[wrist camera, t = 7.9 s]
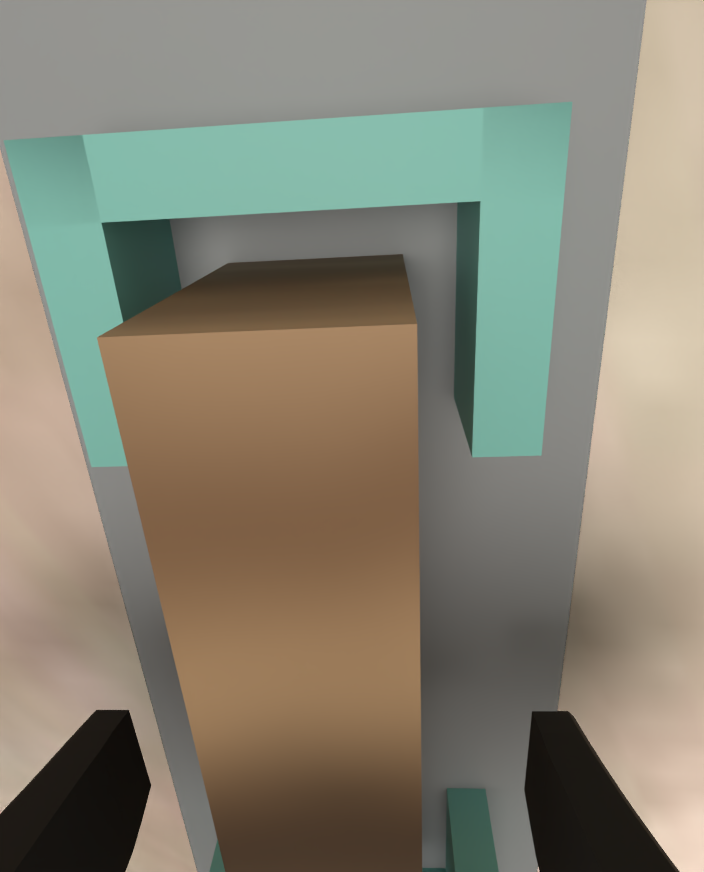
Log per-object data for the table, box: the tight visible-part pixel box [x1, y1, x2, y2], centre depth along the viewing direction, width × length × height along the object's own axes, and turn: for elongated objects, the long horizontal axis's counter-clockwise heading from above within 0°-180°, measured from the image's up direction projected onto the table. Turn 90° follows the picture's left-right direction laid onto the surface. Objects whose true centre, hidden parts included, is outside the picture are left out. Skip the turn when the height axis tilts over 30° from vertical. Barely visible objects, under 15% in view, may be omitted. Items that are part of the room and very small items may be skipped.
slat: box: [97, 254, 422, 872], centre depth 11 cm, size 16×3×5 cm, turn 3°
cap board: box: [0, 0, 646, 872], centre depth 13 cm, size 26×10×4 cm, turn 3°
